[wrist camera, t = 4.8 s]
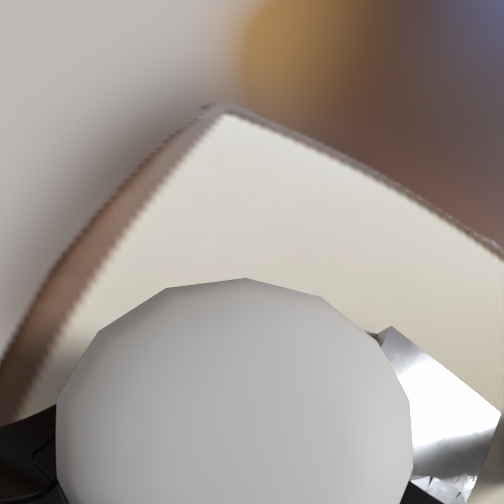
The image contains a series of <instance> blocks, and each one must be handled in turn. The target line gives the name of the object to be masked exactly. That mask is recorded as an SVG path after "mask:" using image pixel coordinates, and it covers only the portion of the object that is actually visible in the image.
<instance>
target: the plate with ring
mask: <svg viewBox="0 0 504 504" xmlns="http://www.w3.org/2000/svg"><path fill="white" fill-rule="evenodd" d="M375 340H376V341H377V342H378V344H379V346H380V347H381V349H382V351H383V352H384V354H385V356H386V358H387V360H388V361H389V363H390V365H391V367H392V368H393V370H394V372H395V374H396V376H397V377H398V379H399V381H400V383H401V385H402V387H403V388H404V390H405V392H406V394H407V396H408V398H409V400H410V405H411V420H412V442H413V470H412V472H411V475H410V478H409V480H410V481H411V482H412V483H414V484H415V485H417V486H418V487H420V488H421V489H423V490H424V491H426V492H427V493H429V494H430V495H432V496H433V497H435V498H436V499H438V500H440V501H441V502H443V503H444V504H466V501H467V499H468V497H469V495H470V493H471V491H472V489H473V487H474V484H475V482H476V480H477V478H478V475H479V473H480V471H481V468H482V466H483V463H484V461H485V458H486V456H487V453H488V450H489V448H490V445H491V442H492V439H493V436H494V433H495V430H496V427H497V424H498V421H499V417H500V414H501V413H500V412H499V411H497V410H496V409H495V408H494V407H493V406H491V405H490V404H489V403H488V402H486V401H485V400H484V399H483V398H482V397H480V396H479V395H478V394H477V393H475V392H474V391H473V390H472V389H470V388H469V387H468V386H467V385H466V384H464V383H463V382H462V381H461V380H459V379H458V378H457V377H456V376H454V375H453V374H452V373H451V372H449V371H448V370H447V369H446V368H444V367H443V366H442V365H441V364H439V363H438V362H437V361H435V360H434V359H433V358H432V357H430V356H429V355H428V354H427V353H425V352H424V351H423V350H422V349H420V348H419V347H418V346H416V345H415V344H414V343H413V342H411V341H410V340H409V339H407V338H406V337H405V336H404V335H402V334H401V333H400V332H398V331H397V330H396V329H395V328H393V327H392V326H390V327H388V328H387V329H385V330H383V331H381V332H380V333H378V334H377V336H376V338H375Z"/></svg>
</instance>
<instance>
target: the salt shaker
mask: <svg viewBox="0 0 504 504" xmlns="http://www.w3.org/2000/svg"><path fill="white" fill-rule="evenodd" d="M56 469H57V479H58V481H59V483H60V486H61V488H62V490H63V492H64V494H65V496H66V498H67V500H68V502H69V504H399V503H400V501H401V498H402V496H403V494H404V491H405V489H406V486H407V483H408V481H409V478H410V475H411V472H412V470H413V442H412V420H411V405H410V400H409V398H408V396H407V394H406V392H405V390H404V388H403V387H402V385H401V383H400V381H399V379H398V377H397V376H396V374H395V372H394V370H393V368H392V367H391V365H390V363H389V361H388V360H387V358H386V356H385V354H384V352H383V351H382V349H381V347H380V346H379V344H378V342H377V341H376V340H375V339H374V338H372V337H371V336H370V335H368V334H367V333H366V332H365V331H363V330H362V329H361V328H360V327H358V326H357V325H356V324H354V323H353V322H352V321H351V320H349V319H348V318H347V317H345V316H344V315H343V314H342V313H340V312H339V311H338V310H337V309H335V308H334V307H333V306H331V305H330V304H329V303H328V302H326V301H325V300H324V299H322V298H321V297H319V296H315V295H311V294H307V293H303V292H299V291H295V290H291V289H287V288H283V287H279V286H275V285H271V284H267V283H263V282H259V281H255V280H251V279H247V278H242V279H235V280H227V281H220V282H212V283H204V284H196V285H188V286H180V287H171V288H166V289H164V290H162V291H161V292H159V293H158V294H156V295H154V296H153V297H151V298H150V299H148V300H147V301H145V302H143V303H142V304H140V305H139V306H137V307H136V308H134V309H132V310H131V311H129V312H128V313H126V314H125V315H123V316H122V317H120V318H118V319H117V320H115V321H114V322H112V323H111V324H109V325H108V326H106V327H104V328H103V329H101V330H100V331H98V333H97V334H96V336H95V337H94V339H93V340H92V342H91V343H90V345H89V347H88V348H87V350H86V351H85V353H84V355H83V356H82V358H81V359H80V361H79V363H78V364H77V366H76V367H75V369H74V371H73V372H72V374H71V376H70V377H69V379H68V381H67V382H66V384H65V386H64V388H63V389H62V391H61V393H60V394H59V396H58V398H57V407H56Z"/></svg>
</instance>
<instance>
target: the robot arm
mask: <svg viewBox="0 0 504 504" xmlns="http://www.w3.org/2000/svg"><path fill="white" fill-rule="evenodd" d="M56 407H57V404H55V405H53V406H51V407H49V408H47V409H45V410H43V411H41V412H39V413H37V414H34V415H32V416H30V417H27V418H25V419H22V420H20V421H17V422H14V423H12V424H9V425H6V426H3V427H0V504H69V502H68V500H67V498H66V496H65V494H64V492H63V490H62V488H61V486H60V483H59V481H58V479H57V469H56ZM399 504H444V503H443V502H441V501H440V500H438V499H436V498H435V497H433V496H432V495H430V494H429V493H427V492H426V491H424V490H423V489H421V488H420V487H418V486H417V485H415V484H414V483H412V482H411V481H410V480H409V481H408V483H407V486H406V489H405V491H404V494H403V496H402V498H401V501H400V503H399Z"/></svg>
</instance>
